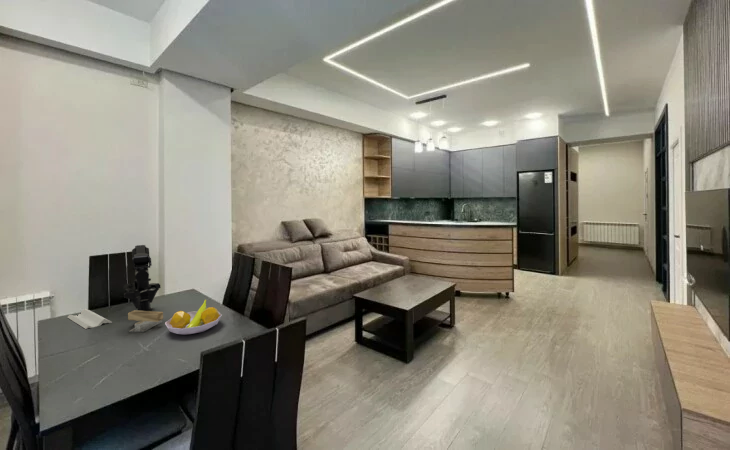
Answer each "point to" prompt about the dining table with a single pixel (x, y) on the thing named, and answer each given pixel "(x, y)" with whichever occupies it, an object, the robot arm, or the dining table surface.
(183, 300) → the dining table surface
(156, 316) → the oak batten
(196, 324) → the fruit bowl
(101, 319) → the crown molding
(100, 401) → the dining table surface
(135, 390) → the dining table surface
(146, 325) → the fulcrum stand
